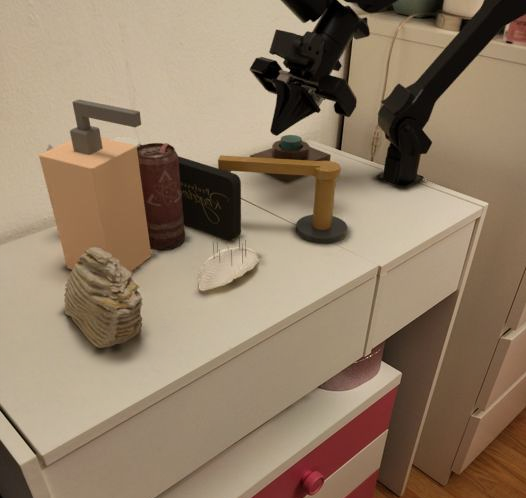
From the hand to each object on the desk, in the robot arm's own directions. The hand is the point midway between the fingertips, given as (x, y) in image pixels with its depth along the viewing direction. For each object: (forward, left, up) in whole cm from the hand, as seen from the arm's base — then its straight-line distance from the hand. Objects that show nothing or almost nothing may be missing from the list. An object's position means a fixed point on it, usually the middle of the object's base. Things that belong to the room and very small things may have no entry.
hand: (273, 133), depth 86 cm
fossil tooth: (+38, +11, -12) cm, 42 cm away
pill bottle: (+19, -14, -12) cm, 26 cm away
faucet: (0, +12, -12) cm, 17 cm away
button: (-15, -10, -8) cm, 20 cm away
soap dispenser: (+29, 0, -12) cm, 32 cm away
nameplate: (+15, -5, -12) cm, 20 cm away
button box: (-15, -10, -12) cm, 21 cm away
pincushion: (+19, +12, -12) cm, 26 cm away
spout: (+5, +7, -4) cm, 9 cm away
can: (+20, -2, -12) cm, 24 cm away
